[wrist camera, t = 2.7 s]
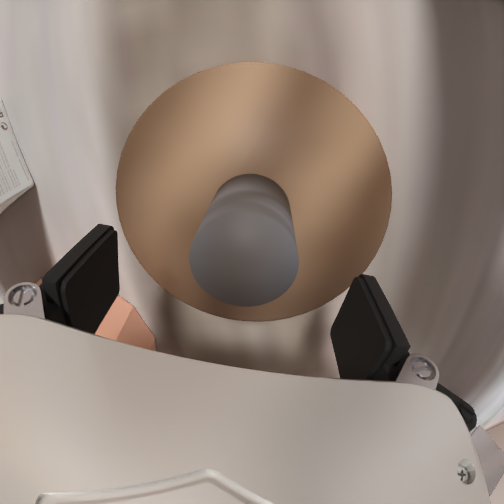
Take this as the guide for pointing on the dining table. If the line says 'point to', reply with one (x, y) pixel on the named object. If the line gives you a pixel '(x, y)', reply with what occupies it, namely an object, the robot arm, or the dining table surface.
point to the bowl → (125, 325)
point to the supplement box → (11, 165)
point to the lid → (253, 191)
